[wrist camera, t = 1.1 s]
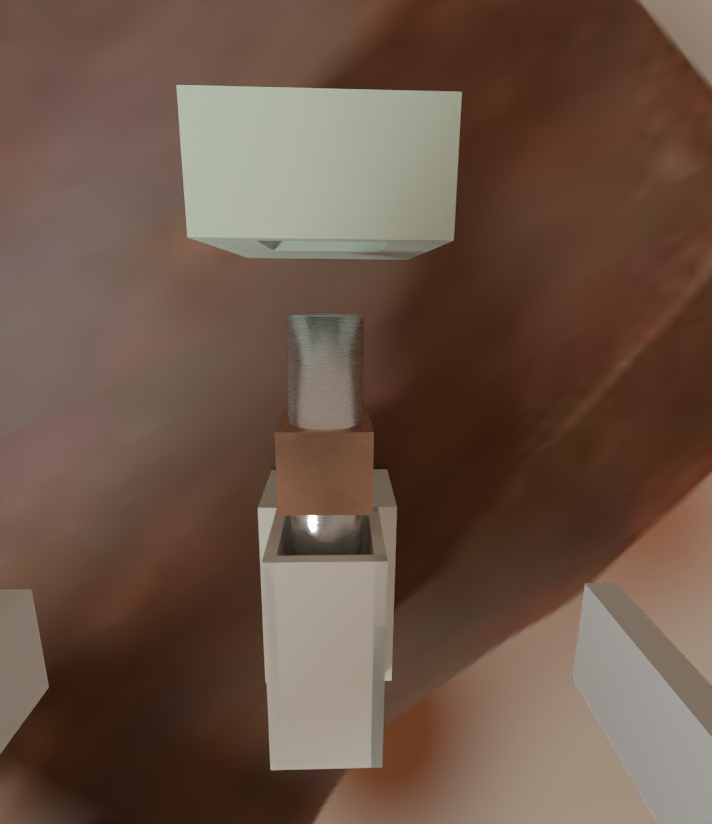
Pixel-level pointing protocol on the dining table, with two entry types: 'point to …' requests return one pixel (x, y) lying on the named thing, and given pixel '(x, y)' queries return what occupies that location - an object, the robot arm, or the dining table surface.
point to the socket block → (319, 170)
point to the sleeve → (327, 639)
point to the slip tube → (325, 435)
